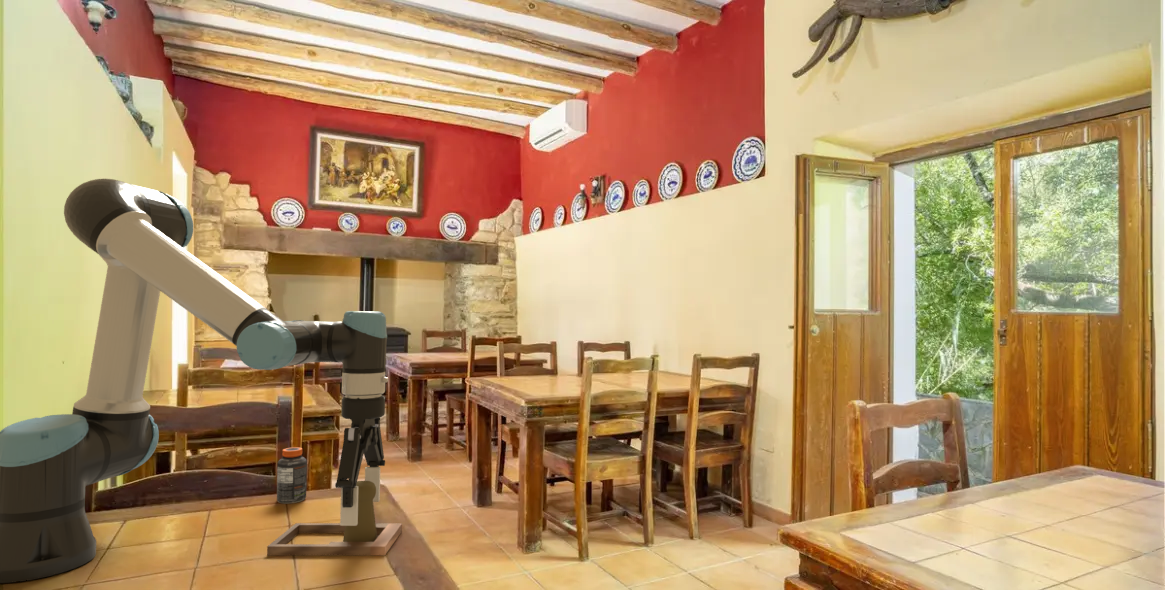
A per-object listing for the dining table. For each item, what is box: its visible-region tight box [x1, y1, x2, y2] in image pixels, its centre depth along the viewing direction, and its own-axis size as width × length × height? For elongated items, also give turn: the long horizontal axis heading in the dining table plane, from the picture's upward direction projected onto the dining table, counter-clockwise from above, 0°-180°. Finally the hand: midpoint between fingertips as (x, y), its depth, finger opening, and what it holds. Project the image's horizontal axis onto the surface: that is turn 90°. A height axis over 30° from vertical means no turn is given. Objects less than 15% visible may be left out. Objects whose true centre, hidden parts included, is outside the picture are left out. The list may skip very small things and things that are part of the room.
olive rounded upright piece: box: [342, 480, 378, 542], centre depth 116 cm, size 6×6×11 cm
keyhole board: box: [266, 522, 403, 556], centre depth 116 cm, size 20×12×2 cm, turn 92°
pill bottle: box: [276, 446, 308, 504], centre depth 142 cm, size 6×6×11 cm
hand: (361, 512), depth 117 cm, fingers open, 13 cm apart
